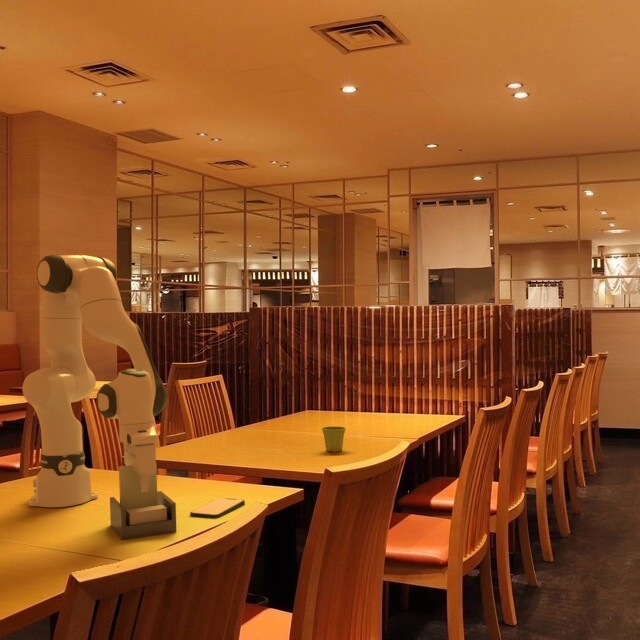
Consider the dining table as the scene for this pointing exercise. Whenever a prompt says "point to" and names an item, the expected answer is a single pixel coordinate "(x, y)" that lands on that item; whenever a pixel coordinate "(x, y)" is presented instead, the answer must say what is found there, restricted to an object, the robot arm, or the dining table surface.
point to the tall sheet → (136, 489)
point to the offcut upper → (146, 515)
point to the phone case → (217, 508)
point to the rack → (144, 528)
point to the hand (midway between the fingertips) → (140, 488)
